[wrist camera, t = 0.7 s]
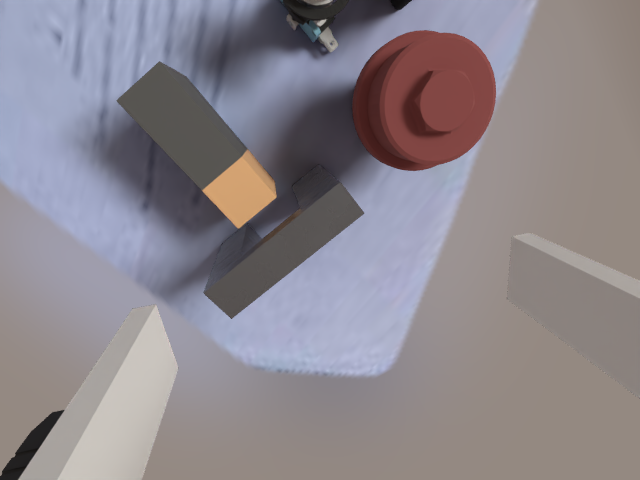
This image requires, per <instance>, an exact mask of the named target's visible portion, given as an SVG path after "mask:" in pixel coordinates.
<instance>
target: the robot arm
mask: <svg viewBox="0 0 640 480" xmlns="http://www.w3.org/2000/svg"><path fill="white" fill-rule="evenodd" d="M507 299H508V300H509V301H510V302H512V303H513V304H514V305H516V306H517V307H518V308H520V309H521V310H522V311H524V312H525V313H526V314H527V315H529V316H530V317H531V318H533V319H534V320H535V321H537V322H538V323H539V324H541V325H542V326H544V327H545V328H546V329H548V330H549V331H550V332H551V333H553V334H554V335H556V336H557V337H558V338H559V339H561V340H562V341H564V342H565V343H566V344H567V345H569V346H570V347H571V348H573V349H574V350H576V351H577V352H578V353H579V354H581V355H582V356H583V357H585V358H586V359H587V360H589V361H590V362H591V363H593V364H594V365H595V366H597V367H598V368H599V369H601V370H602V371H603V372H605V373H606V374H607V375H609V376H610V377H611V378H613V379H614V380H615V381H617V382H618V383H619V384H621V385H622V386H623V387H625V388H626V389H627V390H629V391H630V392H631V393H633V394H634V395H635V396H637V397H638V398H639V399H640V281H639V280H637V279H634V278H632V277H630V276H627V275H625V274H623V273H620V272H618V271H616V270H614V269H612V268H609V267H607V266H605V265H602V264H600V263H598V262H596V261H593V260H591V259H589V258H587V257H584V256H582V255H579V254H577V253H575V252H573V251H571V250H568V249H566V248H564V247H561V246H559V245H557V244H555V243H552V242H550V241H548V240H545V239H543V238H541V237H538V236H536V235H534V234H532V233H527V234H522V235H517V236H512V240H511V253H510V267H509V280H508V291H507ZM177 371H178V365H177V363H176V360H175V357H174V354H173V351H172V348H171V346H170V343H169V340H168V337H167V334H166V332H165V329H164V326H163V323H162V320H161V317H160V314H159V312H158V309H157V306H156V304H155V305H149V306H144V307H139V308H134V309H132V311H131V312H130V313H129V315H128V317H127V318H126V319H125V321H124V323H123V324H122V325H121V327H120V328H119V330H118V331H117V333H116V334H115V336H114V337H113V339H112V340H111V342H110V343H109V345H108V346H107V348H106V349H105V351H104V352H103V354H102V355H101V357H100V358H99V360H98V361H97V363H96V364H95V366H94V367H93V369H92V370H91V372H90V373H89V375H88V376H87V378H86V379H85V381H84V382H83V384H82V385H81V387H80V388H79V390H78V391H77V393H76V394H75V396H74V397H73V399H72V400H71V402H70V403H69V405H68V406H67V408H66V409H65V410H62V411H57V412H53V413H51V414H50V415H49V416H48V417H47V418H46V419H45V420H44V421H42V422H41V423H40V424H39V425H38V426H37V427H36V428H35V429H34V430H32V431H31V433H30V434H29V435H28V437H27V438H26V439H25V441H24V442H23V443H22V445H21V446H20V447H19V449H18V450H17V452H16V453H15V454H16V455H15V457H13V458H11V460H10V461H9V463H8V464H7V465H6V467H5V468H4V469H3V471H2V475H1V476H0V480H142V477H143V474H144V471H145V468H146V465H147V462H148V459H149V456H150V453H151V450H152V447H153V444H154V441H155V438H156V435H157V432H158V429H159V426H160V423H161V419H162V416H163V414H164V411H165V407H166V404H167V401H168V398H169V395H170V392H171V389H172V386H173V383H174V380H175V377H176V374H177Z"/></svg>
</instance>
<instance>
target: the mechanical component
mask: <svg viewBox="0 0 640 480" xmlns="http://www.w3.org/2000/svg"><path fill="white" fill-rule="evenodd" d="M495 98H496V85H495V78H494V73H493V70H492V67H491V65H490V62H489V61H488V59H487V57H486V55H485V54H484V53H483V52H482V50H481V49H480V48H479V47H478V46H477V45H476V44H474V43H473V42H472V41H470V40H469V39H467V38H465V37H463V36H460V35H457V34H452V33H438V32H435V31H427V30H424V31H414V32H409V33H406V34H403V35H401V36H398V37H396V38H395V39H393V40H391V41H389V42H388V43H387V44H385V45H384V46H382V47H381V48H380V49H379V50H377V51H376V52H375V53H374V54H373V55H372V56H371V58H370V59H369V60H368V61H367V63H366V64H365V66H364V67H363V69H362V71H361V73H360V75H359V77H358V79H357V83H356V86H355V89H354V95H353V104H352V112H353V120H354V125H355V129H356V131H357V134H358V137H359V138H360V140H361V142H362V144H363V145H364V147H365V148H366V149H367V151H368V152H369V153H370V154H371V155H372V156H373V157H375V158H376V159H377V160H379V161H380V162H382V163H384V164H386V165H388V166H391V167H394V168H397V169H401V170H408V171H417V170H424V169H428V168H431V167H434V166H436V165H439V164H443V163H447V162H450V161H452V160H454V159H457V158H459V157H460V156H462V155H463V154H465V153H466V152H467V151H469V150H470V149H471V148H472V147H473V146H474V145H475V144H476V143H477V142H478V140H479V139H480V138H481V136H482V135H483V133H484V132H485V130H486V128H487V126H488V124H489V122H490V120H491V117H492V114H493V110H494V106H495Z"/></svg>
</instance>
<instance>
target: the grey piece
mask: <svg viewBox="0 0 640 480" xmlns="http://www.w3.org/2000/svg"><path fill="white" fill-rule="evenodd" d="M292 188H293V190H294V193H295V196H296V198H297V201H298V203H299V206H300V209H298V210H297V211H296V212H295V213H294V214H292V215H291V216H290V217H289V218H287V219H286V220H285V221H284V222H282V223H281V224H280V225H279V226H278V227H276V228H275V229H274V230H273V231H271V232H270V233H269V234H268V235H267V236H265V237H264V238H263V239H262V238H261V237H260V236H259V235H258V234H257V233H256V232H255V231H254V230H253V229H252V228H251V227H250V225H249V224H248V223H247V224H245V225H244V226H243V227H242V228H241V229H239V230H238V231H237V232H236V233H235V234H233V235H232V236H231V237H230V238H228V239H227V240H226V241H225V242H224V243H222V245H221V247H220V250H219V253H218V255H217V258H216V261H215V263H214V266H213V269H212V271H211V274H210V277H209V279H208V282H207V285H206V287H205V290H204V294H205V295H206V296H207V297H208V298H209V299H210V300H211V301H212V302H214V303H215V304H216V305H217V306H218V307H219V308H220V309H221V310H222V311H223V312H225V313H226V314H227V315H228V316H229V317H230V318H231V319H232V318H233V317H234V316H236V315H237V314H238V313H239V312H241V311H242V310H243V309H244V308H246V307H247V306H248V305H250V304H251V303H252V302H253V301H255V300H256V299H257V298H258V297H260V296H261V295H262V294H263V293H265V292H266V291H267V290H268V289H270V288H271V287H272V286H273V285H275V284H276V283H277V282H279V281H280V280H281V279H282V278H284V277H285V276H286V275H287V274H289V273H290V272H291V271H292V270H294V269H295V268H296V267H297V266H299V265H300V264H301V263H302V262H304V261H305V260H306V259H307V258H309V257H310V256H311V255H313V254H314V253H315V252H316V251H318V250H319V249H320V248H321V247H323V246H324V245H325V244H326V243H328V242H329V241H330V240H331V239H333V238H334V237H335V236H336V235H338V234H339V233H340V232H341V231H343V230H344V229H345V228H347V227H348V226H349V225H350V224H352V223H353V222H354V221H355V220H357V219H358V218H359V217H360V216H362V215H363V214H364V212H363V211H362V209H361V208H360V207H359V206H358V204H357V203H356V202H355V200H354V199H353V198H352V196H351V195H350V194H349V192H348V191H347V190H346V189H345V187H344V186H343V185H342V183H341V182H340V181H339V180H337V179H336V178H335V177H334V176H333V175H331V174H330V173H329V172H328V171H326V170H325V169H324V168H323V167H322V166H320V165H319V164H318V165H317V166H316V167H315V168H313V169H312V170H311V171H310V172H309V173H307V174H306V175H305V176H304V177H303V178H301V179H300V180H299V181H298V182H296V183H295V184H294V185H293V186H292Z"/></svg>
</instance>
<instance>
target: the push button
mask: <svg viewBox="0 0 640 480" xmlns="http://www.w3.org/2000/svg"><path fill="white" fill-rule="evenodd" d="M280 1H281V3H283V5H284V6H285V7H286V8H287V10H288V11H289V14H288V15H287V19H286V20H287V22H288V23H289V24H290V25H291V27H292V28H293V29H294V30H296V26H297V25H298V24H299V25H300V27H301V28H302V29H303V30H304V32H305V33H306V34H307V36H308V37H309V38H310V39H311V41H312V42H314V41H315V40H316V39H318V40H319V42H320V43H321V44H322V43H323V44H324V45H325V47H326V48H327V49H328V51H329V52H330V53H331V52H332V51H333V50H334V49H335V48H336V47H337V46H338V42H337V41H336V40H335V38H334V37H333V36H332V34H331V33H332V31H331V30H330V29H329V25H330V24H331V23H332V22H333V21H334V19H335V17H334V16H335V15H336V14H338V13H339V12H340V11H341V10H342V9H343V8H344V7H345V6H346V4H347V3H348V1H349V0H337V1H336V2H335V3H333V4H332V2H333V0H280ZM331 4H332V5H331ZM290 22H291V23H290ZM333 41H334V42H333ZM330 43H332V45H330ZM328 46H329V47H328Z"/></svg>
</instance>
